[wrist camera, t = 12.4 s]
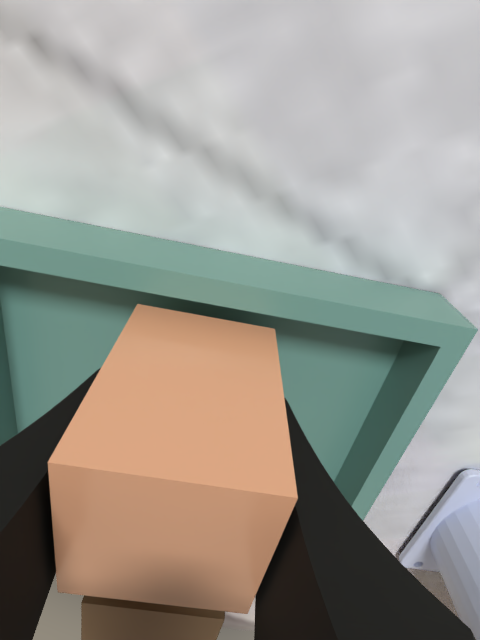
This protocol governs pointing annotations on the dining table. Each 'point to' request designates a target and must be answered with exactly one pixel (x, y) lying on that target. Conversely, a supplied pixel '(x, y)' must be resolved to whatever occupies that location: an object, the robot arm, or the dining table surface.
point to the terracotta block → (175, 466)
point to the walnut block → (146, 621)
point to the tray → (234, 305)
